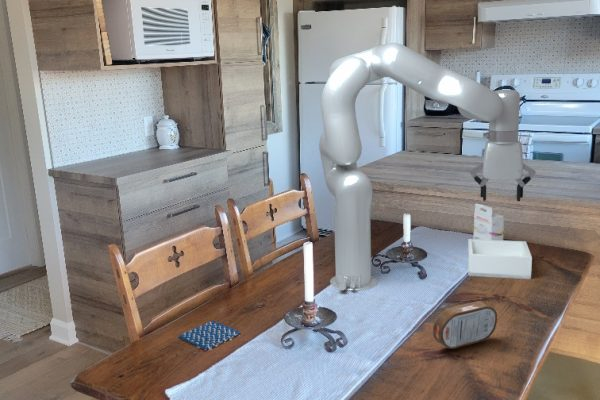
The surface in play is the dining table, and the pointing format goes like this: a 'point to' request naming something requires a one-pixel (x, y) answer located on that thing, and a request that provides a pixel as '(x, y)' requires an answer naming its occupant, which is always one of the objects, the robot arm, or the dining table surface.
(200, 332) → the woven mat
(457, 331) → the tin
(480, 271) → the walled box
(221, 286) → the dining table surface
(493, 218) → the ink cartridge box
